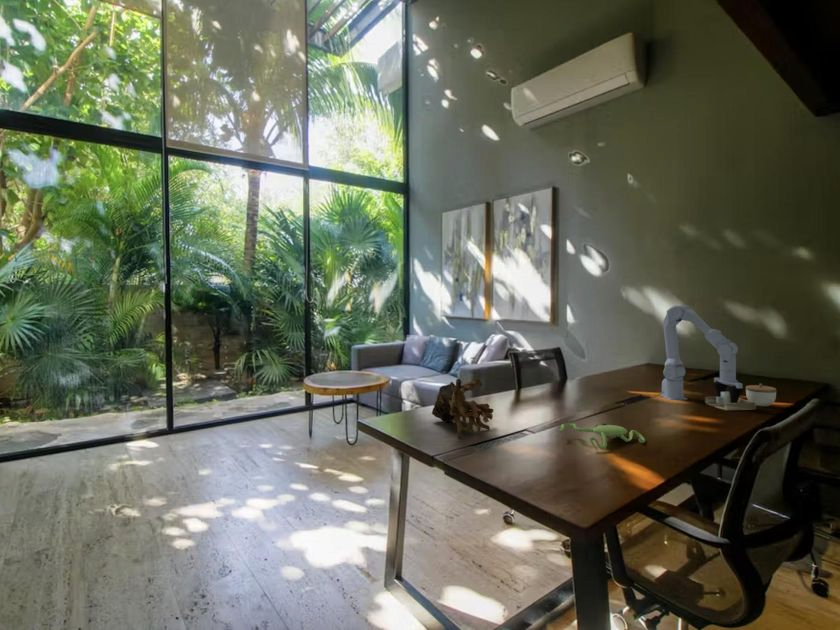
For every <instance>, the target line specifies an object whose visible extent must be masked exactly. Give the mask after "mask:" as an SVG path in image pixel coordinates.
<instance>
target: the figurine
mask: <svg viewBox="0 0 840 630" xmlns="http://www.w3.org/2000/svg"><path fill="white" fill-rule="evenodd" d="M567 427H568V428H569V427H571V428H573V430H575V431H577V432H579V433H580V432H582V433H595V434H597V435H600V436H601V437H602V438H601V439H602V444H603V445H602V444H600V443H599V441H598V440H597V438H596V437H594V436H591V437H588V438H589V441H590V443H591V445H592V446H593V447H594V449H595V451H596V453H599V451H598V449H597V447H598V448H599V449H600V450H602V451H603V450H606V449H607V445H608V443H607V440H609V439H610V438H611V437H612V438H614V439H616V438H617V437H619V438H620V439H621V440H622V441H624V442H631V441H632V439H633V438H634V437H633V435H636V436H637V437H638V439H637V440H638V441H639V442H640V443H641V444H645V443H646V439H645V437H644V436H643V435H642V434H641V432H638V430H634V429H632V430H630V431H629V433H628V429H627V428H624V427H623V426H619V425H612V424H607V423H603V424H601V425H600V424H598V425H595V426H594V427H593V428H582V427H581V428H580V427H578V425H577V424H576V423H566V422H565V423H562V424H561V425H560V429H559V430H558V433H559V434H562V433H563V432H564V431H565V429H566V428H567ZM626 434H629V435H628V438H627V437H626V436H625V435H626ZM594 441H595V443H596V444H597V447H596V445H595V443H594Z"/></svg>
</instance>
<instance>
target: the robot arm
mask: <svg viewBox="0 0 840 630" xmlns="http://www.w3.org/2000/svg"><path fill="white" fill-rule="evenodd" d="M682 321H686V322H690V323H691V324H692V325H693V326H695V327H696V328H697V329H698V330H699V331H701V332H702V333H703V334H704V339H706V340H707V342H708V343H709V344H711V345H712V346H713V347H714V349H716V351H717V353H718V355H719V377H714V378H713V382H714V383H712V386H713V387H714V390H715V392H716V395H717V396H718V397H721V391H729V393H730V399H731V403H737V402H738V399H739V398H740V396H741V394H742V392H743V391H744V387H743V383H741V382H739V380H737V379H736V378H737V357H736V354H738V351H739V348H738V345H737V344H736V343H735V342H734V341H731V340H730V339H729V338H728V339H727V338H726V337H725V336H724V335H723V334H722V331H721V330H720V329H719V330H717V329H714V328H711V327H710V326H709V325H708V324H707V323H706V322H705V321H704V320H703V319H702V318H701V317H700V315H698V314H697V313H696V311H695V310H694V309H693V308H691V307H690V306H689V305H686V304H682V305H672V306H671V307H669V308H668V309H667V310H666V315H665V317H664V319H663V321H662V327H663V336H664V343H665V344H664V345H665V346H664V347H665V354H666V361H665V363H664V369H663V373H662V374H663V377H664V379H663V380H662V382H661V394H659V397H662V398H664V399H668V400H670V401H678V400H679V401H680V400H681V401H682V400H685V401H686V400H688V398H687V397H685V396H684V376H685V375H686V368H685V367H684V363H683V361H682V360H681V357H680V350H679V348H680V347H679V339H678V338H679V337H678V331H677V329H678V328H677V325H679V324H680V323H681V322H682ZM729 386H730V387H729Z"/></svg>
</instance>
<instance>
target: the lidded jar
mask: <svg viewBox="0 0 840 630" xmlns="http://www.w3.org/2000/svg"><path fill="white" fill-rule="evenodd" d="M758 384H759V385H758ZM758 384H754V385H753V384H751V385H746V386H745V394H746V395H745V396H746V398H747V399H746V400H748V401H751V402H754V403H756V407H757V406H759V407H770V406H771V405H773V403H774V402H775V401H776V397H777V388H775V387H774V386H768V385H763V383H758Z"/></svg>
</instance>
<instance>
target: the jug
mask: <svg viewBox="0 0 840 630" xmlns="http://www.w3.org/2000/svg"><path fill="white" fill-rule="evenodd" d="M715 397H716V396H715ZM716 403H721V406H723V407H724V403H731V399H730V393H729V390H726V391H721V397H716Z"/></svg>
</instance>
